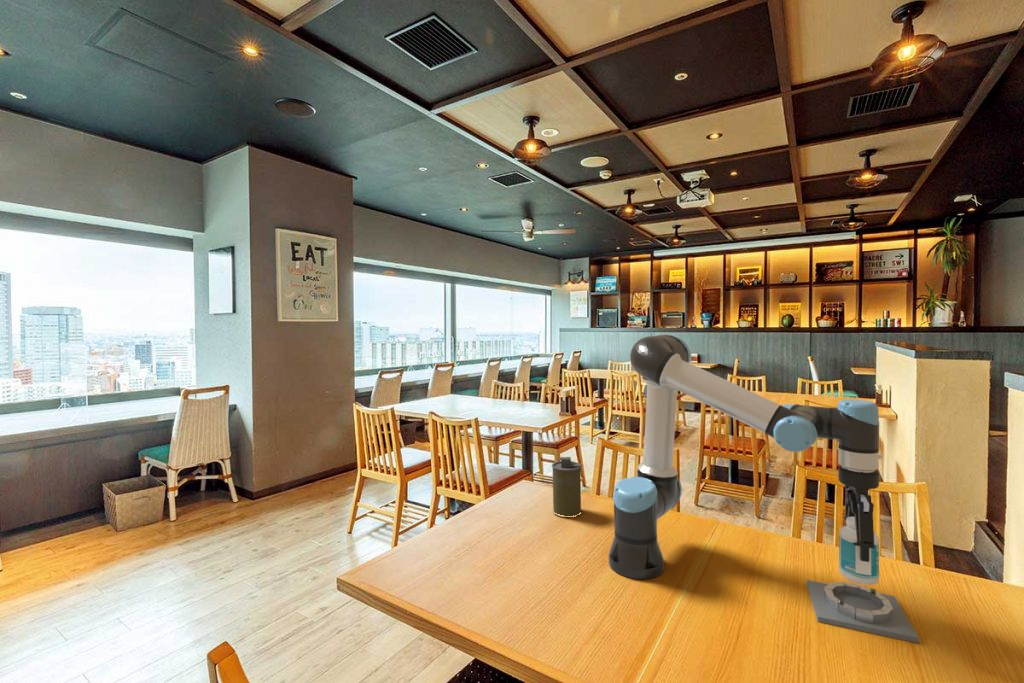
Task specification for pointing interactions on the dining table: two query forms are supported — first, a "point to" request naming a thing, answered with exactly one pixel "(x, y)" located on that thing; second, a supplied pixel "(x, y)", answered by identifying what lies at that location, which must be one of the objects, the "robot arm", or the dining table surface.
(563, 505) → the canister
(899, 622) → the board
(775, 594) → the dining table surface
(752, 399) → the robot arm
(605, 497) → the dining table surface
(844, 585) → the collar
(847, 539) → the pill bottle
